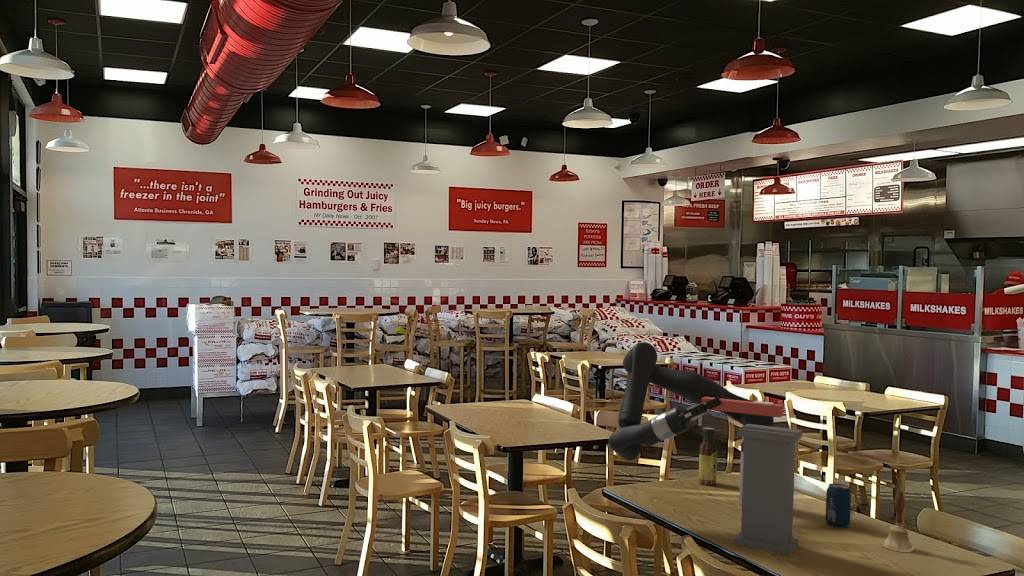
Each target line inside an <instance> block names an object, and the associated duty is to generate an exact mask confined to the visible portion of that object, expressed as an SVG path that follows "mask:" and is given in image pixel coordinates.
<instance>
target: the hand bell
mask: <svg viewBox="0 0 1024 576" xmlns="http://www.w3.org/2000/svg"><path fill="white" fill-rule="evenodd" d="M905 506H906V499H905V495H904V492H903V490H901V489H899V490H897V491H896V494H895V497H894V508H895V512H896V515H895V525H892V526H890V528H889V531H888V535H887V537H886V539H885V540H883V542H882V543H881V546H882V547H883V546H884V547H886V548H891V549H899V550H900V549H910V548H912V546H913V544H911V542H910V539H909V533H908V529H907V528H906V527H904V526H903V514H904V513H903V512H904V510H905ZM884 547H883V548H884ZM886 548H885V549H886Z"/></svg>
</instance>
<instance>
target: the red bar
mask: <svg viewBox="0 0 1024 576" xmlns="http://www.w3.org/2000/svg"><path fill="white" fill-rule="evenodd" d="M712 399H715V398H712V397H703V398H701V404H703V403H704V402H706V403H707V402H708V401H710V400H712ZM719 399H720V401H721V405H719V406H716V407H714V408H712V409H710V408H709V409H710V410H709V411H715V410H718V411H717V412H719V411H727V412H736V413H744V414H753V415H762V416H771V417H773V418H782V417H783V416H784V405H783V404H777V403H774V402H771V401H761V400H753V401H754V402H750V401H741V400H731V399H721V398H719Z"/></svg>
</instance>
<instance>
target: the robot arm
mask: <svg viewBox="0 0 1024 576" xmlns="http://www.w3.org/2000/svg"><path fill="white" fill-rule="evenodd" d="M657 362H658V352H657V350H656V348H655V347H654V345H652V344H651V343H650V342H646V341H640V342H638V343H636V344H635V345H633V346H632V347H631V348H630V350H628V352H627V353H626V355H625V356H624V357H623V359H622V366H623V369H624V370H625V372H627V374H629V375H630V377H629V381H628V384H627V387H626V389H625V392H624V395H623V396H622V400H621V404H620V407H619V408H620V409H619V412H618V420H617V423H618V426H619V428H618V429H616V430H614V431H613V432H612V433H610V436H609V437H608V446H609V448H610V449H611V450H612V451H613V452H615V453H616V454H617V455H619V456H620V457H621V458H622V459H624V460H625V461H628V462H630V461H634V460H636V459H637V458H638V457H639V455H640V453H641V451H642V449H643V448H642V447H643V446H646V447H652V446H654V445H657V444H659V443H661V442H663V441H665V440H669V439H671V438H674V437H677V436H678V435H681V434H684V433H685V432H687V431H689V430H690V429H691V428H692V427H691V426H692V422H693V421H696V420H697V419H700V417H703V416H704V415H707V414H709V411H711V410H710V409H712V408H714V407H716V406H719V405H721V401H720V399H719V398H721V399H731V400H741V401H750V402H754V401H755V400H751V399H748V398H745V397H743V396H739V395H737V394H735V393H733V392H731V391H729V390H728V389H726V388H725V387H723V386H722V385H721V384H719V383H718V382H715V381H713V380H712V379H710V378H708V377H706V376H704V375H703V374H702V375H701V374H700V373H697V372H694V371H691V370H684V369H683V370H682V369H674V368H672V369H671V368H667V367H664V366H661V365H660V364H657ZM649 384H653V385H655V386H658V387H660V388H662V389H665V390H666V391H669V392H671V393H673V394H675V395H678V396H679V397H681V398H684V399H685V400H687V401H689V402H691V403H694V404H695V405H692V406H689V407H686V408H684V407H683V406H680V405H676V406H674V407H671V408H669V409H667V410H666V411H664V412H662V413H660V414H658V415H656V416H654V417H653V418H651V419H649V420H647V421H645V422H643V423H642V419H643V411H644V407H645V401H646V396H647V392H648V388H649ZM703 397H712V398H715V399H712V400H710V401H708V402H707V403H706V402H704V403H703V404H701V398H703ZM709 408H710V409H709ZM714 411H716V412H719V413H722V414H724V415H726V416H728V417H730V418H732V419H733V420H734V421H737V422H738V423H739V424H741V425H742V426H744V425H746V424H754V425H762V426H771V427H775V426H774V425H775V419H774V418H775V417H771V416H762V415H753V414H744V413H736V412H727V411H718V410H714ZM743 456H744V439H743V440H742V442H741V443H740V463H739V464H740V466H739V470H740V471H739V496H738V500H739V501H738V504H740V505H741V506H742V487H743Z"/></svg>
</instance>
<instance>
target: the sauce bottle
mask: <svg viewBox="0 0 1024 576" xmlns="http://www.w3.org/2000/svg"><path fill="white" fill-rule="evenodd" d="M702 433H703V434H702V435H703V436H702V437H703V439H702V440H703V441H702V442H701V443H700V446H699V456H698V483H699V484H701V485H703V484H704V485H705V486H715V485H716V484H717V470H718V469H717V468H718V449H717V446H716V443H715V428H712V427H703V428H702ZM704 485H703V486H704Z"/></svg>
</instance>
